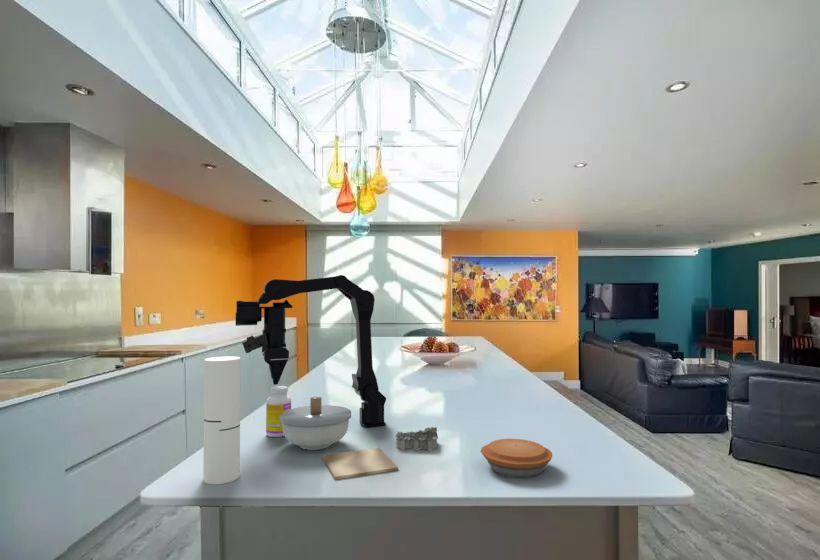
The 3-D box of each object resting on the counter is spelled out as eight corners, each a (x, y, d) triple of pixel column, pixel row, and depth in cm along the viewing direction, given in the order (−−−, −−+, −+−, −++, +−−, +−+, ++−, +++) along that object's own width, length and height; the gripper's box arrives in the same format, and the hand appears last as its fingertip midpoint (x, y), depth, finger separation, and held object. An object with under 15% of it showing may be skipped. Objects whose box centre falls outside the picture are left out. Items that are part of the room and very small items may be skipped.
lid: (342, 406, 131) (342, 388, 131) (358, 422, 114) (358, 402, 114) (276, 412, 124) (276, 393, 124) (283, 430, 107) (283, 409, 107)
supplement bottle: (284, 438, 124) (284, 390, 124) (261, 437, 125) (261, 389, 126) (295, 431, 131) (295, 385, 131) (273, 430, 132) (273, 384, 132)
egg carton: (438, 442, 121) (438, 426, 121) (436, 452, 114) (436, 435, 114) (398, 440, 122) (398, 425, 123) (393, 450, 115) (393, 433, 115)
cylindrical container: (210, 471, 101) (211, 356, 102) (243, 470, 102) (244, 356, 102) (198, 485, 94) (199, 361, 95) (234, 483, 94) (234, 360, 95)
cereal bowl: (362, 444, 119) (362, 416, 119) (307, 461, 107) (307, 430, 107) (322, 431, 131) (322, 406, 131) (269, 445, 118) (269, 417, 119)
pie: (566, 467, 103) (565, 445, 103) (528, 488, 92) (528, 463, 92) (506, 451, 114) (506, 430, 114) (467, 468, 103) (466, 445, 103)
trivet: (379, 450, 114) (379, 447, 114) (398, 470, 101) (398, 467, 101) (322, 457, 109) (322, 455, 109) (334, 479, 96) (334, 476, 96)
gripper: (243, 323, 134) (243, 377, 134) (243, 327, 117) (243, 390, 116) (283, 322, 138) (283, 375, 138) (289, 326, 121) (289, 386, 120)
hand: (274, 381), depth 128 cm, fingers open, 9 cm apart
